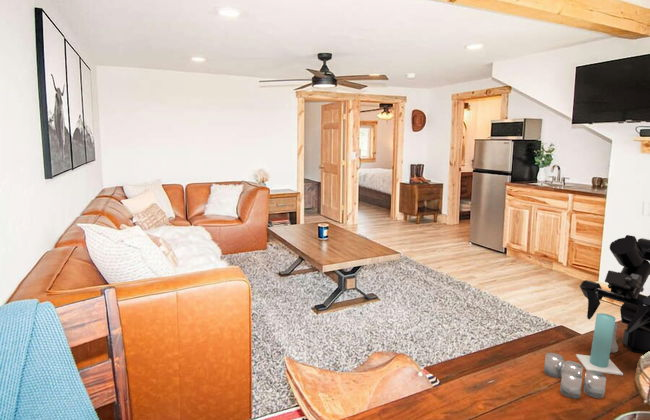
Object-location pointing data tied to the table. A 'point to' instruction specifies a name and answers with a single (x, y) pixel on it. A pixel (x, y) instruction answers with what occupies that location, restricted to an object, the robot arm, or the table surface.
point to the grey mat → (589, 366)
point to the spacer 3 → (594, 384)
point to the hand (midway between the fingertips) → (607, 325)
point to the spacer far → (571, 384)
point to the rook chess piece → (614, 340)
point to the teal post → (602, 340)
